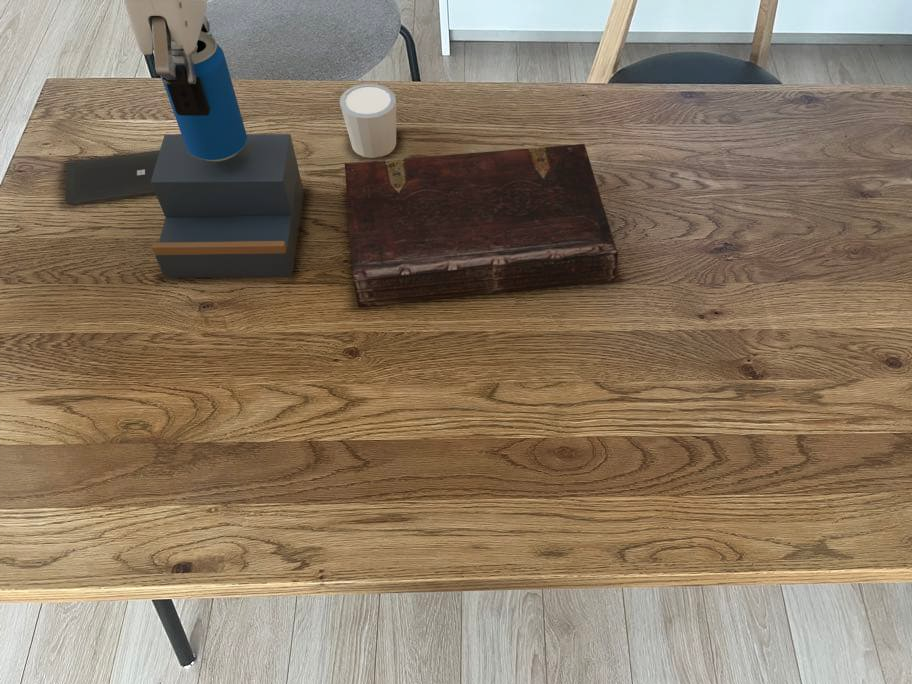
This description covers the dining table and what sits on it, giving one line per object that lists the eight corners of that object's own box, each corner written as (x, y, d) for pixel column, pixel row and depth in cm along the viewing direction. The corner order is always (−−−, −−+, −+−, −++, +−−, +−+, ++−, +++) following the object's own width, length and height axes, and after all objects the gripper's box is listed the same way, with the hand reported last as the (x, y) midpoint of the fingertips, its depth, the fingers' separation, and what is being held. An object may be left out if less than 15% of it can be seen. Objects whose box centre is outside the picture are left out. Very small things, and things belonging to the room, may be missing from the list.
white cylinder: (339, 137, 113) (331, 90, 107) (389, 124, 115) (383, 77, 109) (358, 169, 109) (350, 123, 103) (409, 155, 111) (404, 108, 105)
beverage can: (260, 146, 95) (234, 47, 85) (211, 174, 92) (178, 74, 82) (224, 120, 97) (194, 20, 88) (175, 146, 94) (138, 46, 85)
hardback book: (359, 310, 96) (352, 279, 92) (350, 195, 106) (344, 163, 102) (613, 284, 100) (618, 253, 96) (581, 176, 110) (584, 143, 106)
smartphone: (197, 190, 106) (195, 185, 105) (66, 208, 103) (63, 203, 102) (195, 150, 110) (193, 145, 109) (68, 167, 107) (66, 161, 106)
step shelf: (166, 280, 97) (139, 221, 90) (187, 195, 105) (164, 134, 98) (293, 278, 98) (276, 219, 91) (304, 194, 106) (290, 133, 99)
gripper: (119, -137, 79) (177, 42, 94) (72, -37, 69) (145, 146, 84) (203, -136, 80) (248, 42, 94) (168, -36, 70) (225, 146, 84)
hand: (199, 90), depth 89 cm, fingers closed on beverage can, 6 cm apart
